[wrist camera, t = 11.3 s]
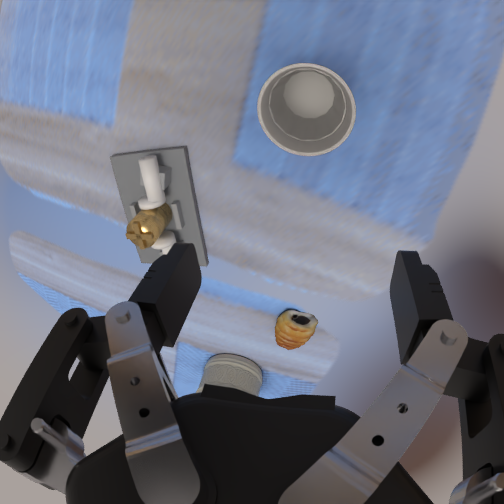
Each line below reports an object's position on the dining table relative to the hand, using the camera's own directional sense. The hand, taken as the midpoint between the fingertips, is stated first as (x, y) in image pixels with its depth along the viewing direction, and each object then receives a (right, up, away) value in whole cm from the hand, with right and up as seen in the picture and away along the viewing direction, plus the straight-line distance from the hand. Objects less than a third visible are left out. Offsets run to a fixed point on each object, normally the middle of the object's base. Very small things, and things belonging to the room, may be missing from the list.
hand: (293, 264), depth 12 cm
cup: (+5, +19, +21) cm, 28 cm away
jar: (-5, -25, +55) cm, 61 cm away
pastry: (+6, -12, +43) cm, 45 cm away
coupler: (-15, +6, +33) cm, 37 cm away
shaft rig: (-15, +7, +34) cm, 38 cm away
